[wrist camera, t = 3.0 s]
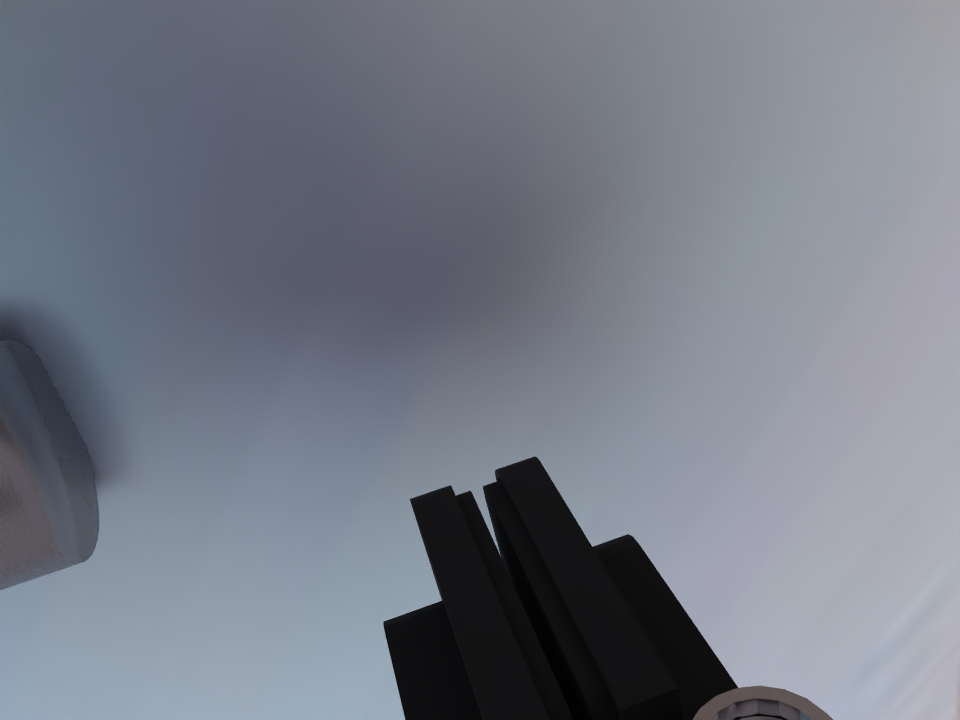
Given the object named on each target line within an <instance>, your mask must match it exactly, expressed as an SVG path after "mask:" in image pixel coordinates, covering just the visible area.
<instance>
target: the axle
mask: <svg viewBox="0 0 960 720" xmlns="http://www.w3.org/2000/svg"><path fill="white" fill-rule="evenodd" d="M98 531H99V509H98V499H97V492H96V486H95V481H94V476H93V471H92V467H91V464H90V460H89V456H88V453H87V450H86V446H85V444H84V442H83V440H82V438H81V436H80V434H79V432H78V430H77V429H76V427H75V425H74V423H73V421H72V419H71V417H70V415H69V413H68V411H67V410H66V408H65V406H64V404H63V402H62V400H61V398H60V396H59V394H58V392H57V391H56V389H55V387H54V385H53V383H52V381H51V379H50V377H49V375H48V373H47V372H46V370H45V368H44V366H43V364H42V362H41V360H40V358H39V357H38V356H37V355H36V354H35V353H34V352H33V351H32V350H31V349H29V348H28V347H27V346H26V345H24V344H22V343H21V342H19V341H16V340H12V339H7V340H3V341H0V590H2V589H5V588H8V587H11V586H14V585H17V584H20V583H23V582H26V581H29V580H32V579H35V578H38V577H41V576H43V575H46V574H49V573H52V572H55V571H58V570H61V569H64V568H67V567H70V566H73V565H76V564H79V563H82V562H84V561H86V560H87V559H89V558H90V556H91V555H92V554H93V551H94V549H95V547H96V543H97V539H98Z"/></svg>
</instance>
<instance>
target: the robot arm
mask: <svg viewBox="0 0 960 720" xmlns="http://www.w3.org/2000/svg"><path fill="white" fill-rule="evenodd" d="M495 475H496V480H497V482H494V483H491V484H488V485H486V486H483V490H484V495H485V499H486V502H487V506H488V510H489V514H490V517H491V521H492V525H493V528H494V532H495V536H496V540H497V543H498V547H499V551H500V554H499V552H498V550H497V547H496V545H495V543H494V541H493V539H492V536H491V534H490V532H489V530H488V528H487V525H486V523H485V521H484V519H483V517H482V514H481V512H480V510H479V508H478V505H477V503H476V501H475V499H474V497H473V494H472V492H471V491H468V492H465V493H462V494H459V495H456V496H455V493H454V491H453V489H452V487H451V485H450V486H447V487H444V488H441V489H438V490H435V491H432V492H429V493H426V494H423V495H421V496H418V497H415V498H412V499H410V501H411V504H412V508H413V511H414V514H415V517H416V520H417V523H418V526H419V530H420V533H421V536H422V539H423V542H424V545H425V548H426V552H427V555H428V558H429V561H430V564H431V567H432V570H433V574H434V577H435V580H436V583H437V586H438V589H439V592H440V596H441V599H442V601H440V602H437V603H435V604H432V605H429V606H426V607H424V608H421V609H418V610H415V611H412V612H410V613H407V614H404V615H401V616H398V617H396V618H393V619H390V620H387V621H384V630H385V634H386V639H387V643H388V647H389V652H390V656H391V660H392V664H393V669H394V673H395V677H396V681H397V686H398V690H399V694H400V698H401V703H402V707H403V711H404V716H405V720H833V719H832V718H831V717H830V716H829V715H828V714H827V713H826V712H824V711H823V710H822V709H820V708H819V707H817V706H816V705H815V704H813V703H812V702H811V701H809V700H808V699H807V698H804V697H802V696H799V695H797V694H794V693H792V692H789V691H787V690H785V689H779V688H772V687H765V686H752V687H742V688H738V687H737V685H736V684H735V682H734V681H733V679H732V678H731V677H730V675H729V674H728V672H727V671H726V669H725V668H724V666H723V665H722V664H721V662H720V661H719V659H718V658H717V656H716V655H715V653H714V652H713V650H712V649H711V648H710V646H709V645H708V643H707V642H706V640H705V639H704V637H703V636H702V635H701V633H700V632H699V630H698V629H697V627H696V626H695V624H694V623H693V622H692V620H691V619H690V617H689V616H688V614H687V613H686V611H685V610H684V609H683V607H682V606H681V604H680V603H679V601H678V600H677V598H676V597H675V595H674V594H673V593H672V591H671V590H670V588H669V587H668V585H667V584H666V582H665V581H664V580H663V578H662V577H661V575H660V574H659V572H658V571H657V569H656V568H655V567H654V565H653V564H652V562H651V561H650V559H649V558H648V556H647V555H646V553H645V552H644V551H643V549H642V548H641V546H640V545H639V544H638V542H637V541H636V540H635V539H634V537H632V536H631V535H629V534H627V535H625V536H622V537H619V538H616V539H613V540H611V541H608V542H605V543H602V544H599V545H597V546H594V547H592V546H591V544H590V542H589V541H588V539H587V538H586V536H585V534H584V533H583V531H582V529H581V528H580V526H579V524H578V523H577V521H576V520H575V518H574V516H573V515H572V513H571V511H570V510H569V508H568V506H567V505H566V503H565V502H564V500H563V498H562V497H561V495H560V493H559V492H558V490H557V488H556V487H555V485H554V483H553V482H552V480H551V479H550V477H549V475H548V474H547V472H546V470H545V469H544V467H543V465H542V464H541V462H540V461H539V459H538V458H537V457H532V458H529V459H526V460H523V461H520V462H517V463H514V464H512V465H509V466H506V467H503V468H500V469H497V470H495ZM500 555H501V556H500ZM501 558H502V559H501Z"/></svg>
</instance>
